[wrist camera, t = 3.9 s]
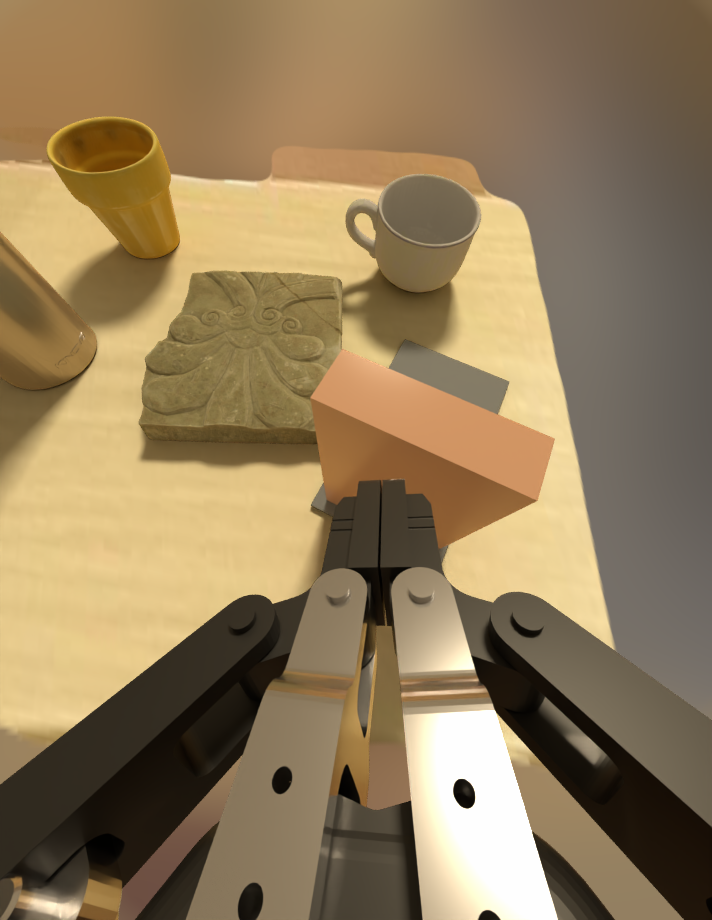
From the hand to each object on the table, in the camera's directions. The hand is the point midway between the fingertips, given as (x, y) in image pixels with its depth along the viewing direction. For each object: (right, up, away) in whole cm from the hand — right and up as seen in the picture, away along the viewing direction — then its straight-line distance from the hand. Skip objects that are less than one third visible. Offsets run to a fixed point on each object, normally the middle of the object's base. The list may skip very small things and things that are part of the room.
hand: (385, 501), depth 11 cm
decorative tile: (-12, +12, +25) cm, 30 cm away
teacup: (+5, +25, +30) cm, 39 cm away
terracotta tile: (+2, -3, +18) cm, 18 cm away
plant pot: (-26, +29, +30) cm, 50 cm away
